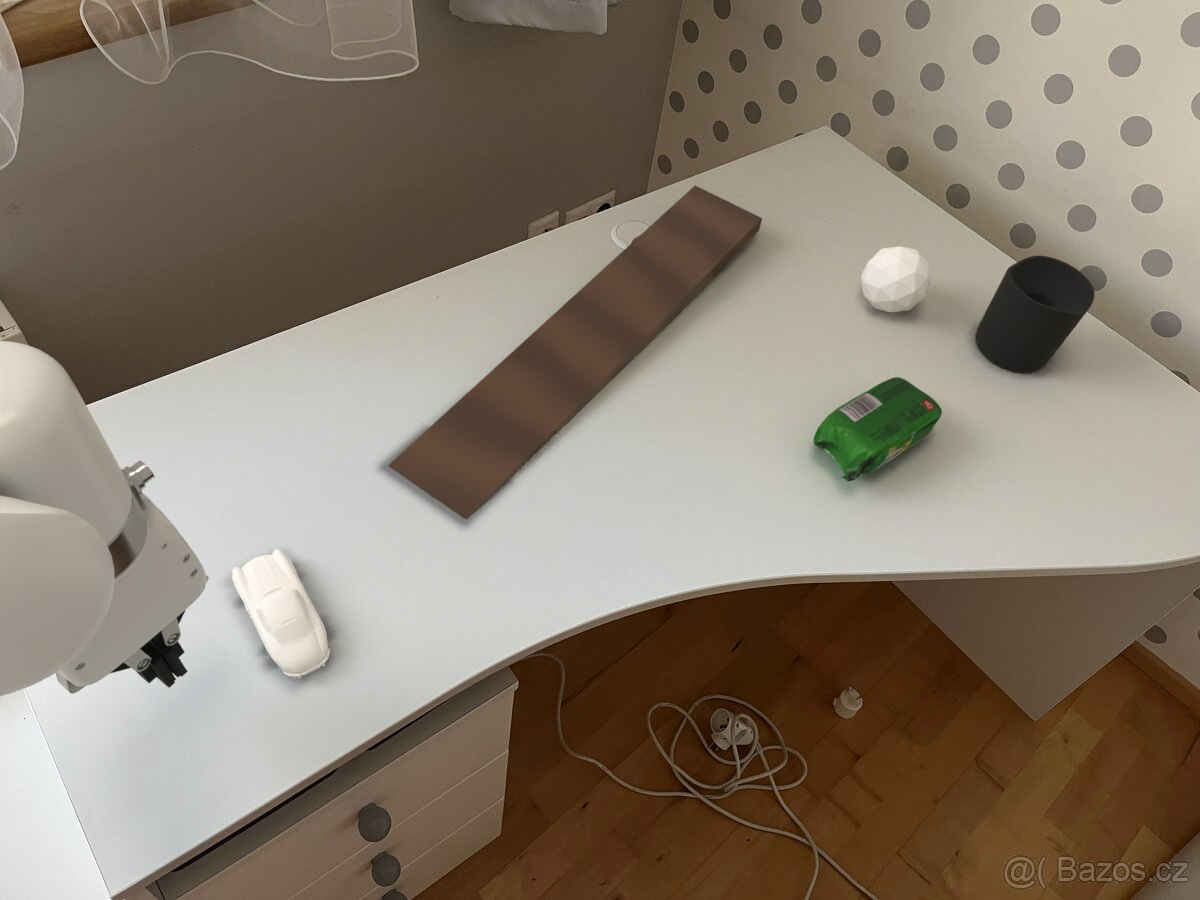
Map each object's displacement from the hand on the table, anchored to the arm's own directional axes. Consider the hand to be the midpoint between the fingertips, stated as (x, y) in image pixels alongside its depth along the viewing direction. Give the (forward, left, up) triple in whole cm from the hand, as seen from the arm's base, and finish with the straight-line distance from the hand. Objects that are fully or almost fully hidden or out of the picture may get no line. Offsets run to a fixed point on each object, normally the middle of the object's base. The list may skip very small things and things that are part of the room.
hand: (164, 668), depth 65 cm
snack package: (+61, -31, -7) cm, 68 cm away
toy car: (+10, 0, -7) cm, 12 cm away
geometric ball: (+83, -23, -7) cm, 86 cm away
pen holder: (+86, -38, -7) cm, 94 cm away
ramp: (+55, 0, -9) cm, 55 cm away
